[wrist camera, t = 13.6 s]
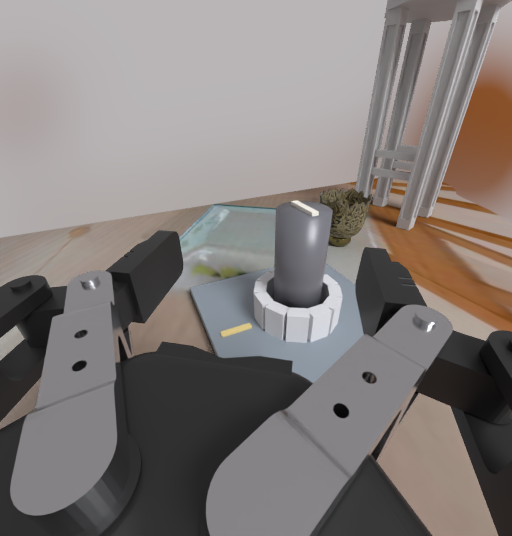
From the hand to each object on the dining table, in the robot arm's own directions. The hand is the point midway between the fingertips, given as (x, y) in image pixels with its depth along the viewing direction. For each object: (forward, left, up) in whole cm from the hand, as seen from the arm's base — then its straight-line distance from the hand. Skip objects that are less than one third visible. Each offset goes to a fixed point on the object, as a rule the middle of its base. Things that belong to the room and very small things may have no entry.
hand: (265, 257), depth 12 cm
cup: (-22, +24, -14) cm, 35 cm away
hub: (-9, +8, -14) cm, 18 cm away
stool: (-28, +42, -14) cm, 52 cm away
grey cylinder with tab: (-9, +8, -13) cm, 17 cm away
